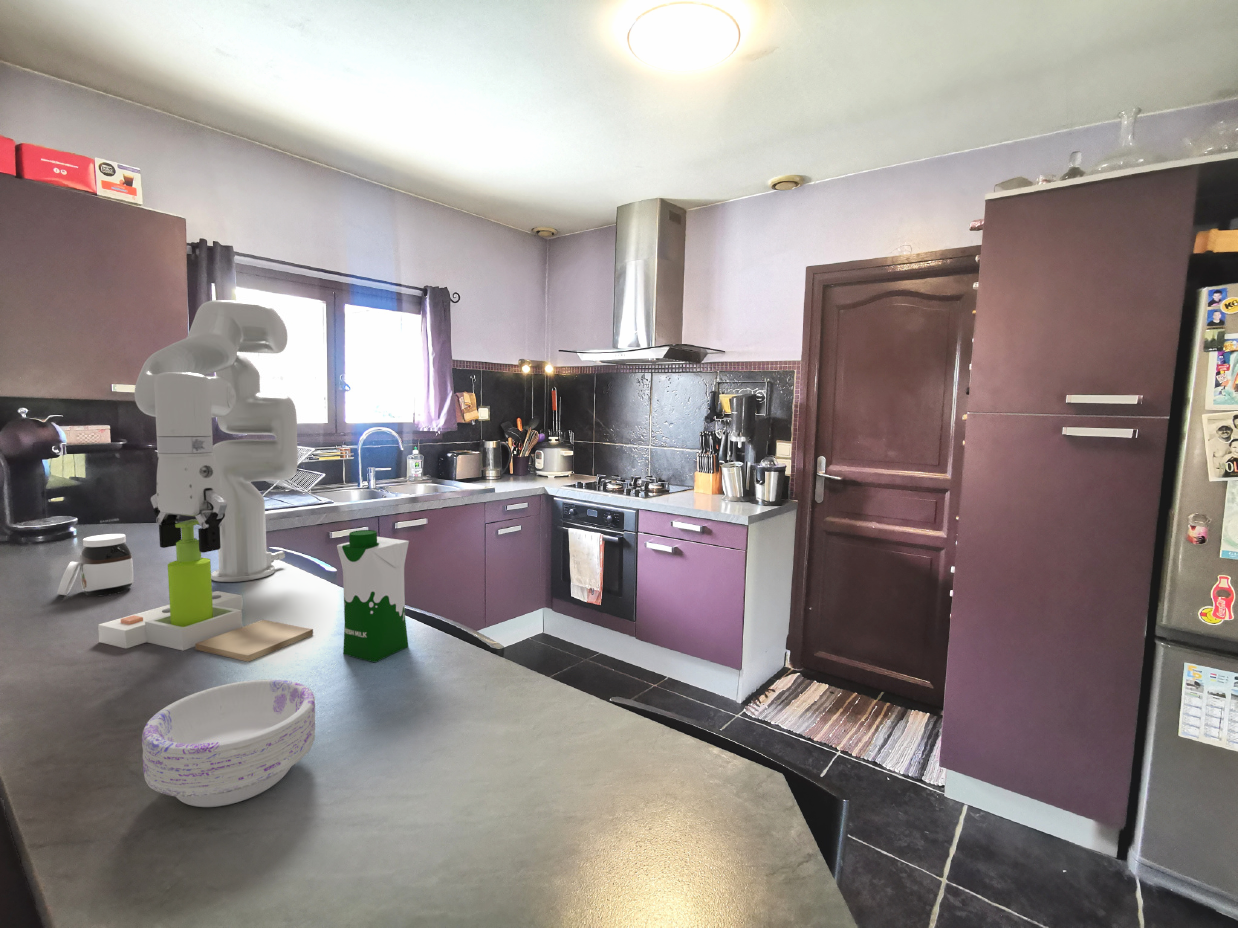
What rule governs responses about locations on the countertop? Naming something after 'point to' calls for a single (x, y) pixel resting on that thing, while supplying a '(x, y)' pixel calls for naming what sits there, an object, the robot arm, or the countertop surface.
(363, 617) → the milk carton
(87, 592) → the spread jar
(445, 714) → the countertop surface
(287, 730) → the paper bowls
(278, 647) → the oak board
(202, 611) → the soap dispenser
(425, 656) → the countertop surface
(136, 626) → the white holder tray
